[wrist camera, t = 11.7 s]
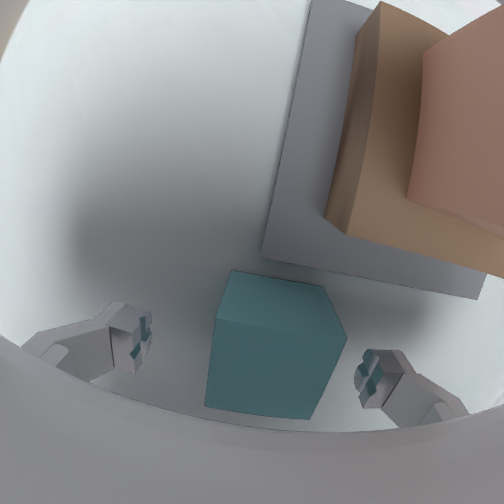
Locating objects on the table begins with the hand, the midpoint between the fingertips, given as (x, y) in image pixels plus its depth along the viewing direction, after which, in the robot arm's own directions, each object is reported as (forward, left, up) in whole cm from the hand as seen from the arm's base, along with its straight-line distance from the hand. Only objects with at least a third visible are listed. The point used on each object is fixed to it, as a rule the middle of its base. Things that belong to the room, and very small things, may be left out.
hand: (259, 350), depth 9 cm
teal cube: (0, 0, -3) cm, 3 cm away
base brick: (+9, -5, -2) cm, 11 cm away
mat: (+9, -5, -3) cm, 11 cm away
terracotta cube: (+9, -6, +1) cm, 10 cm away
